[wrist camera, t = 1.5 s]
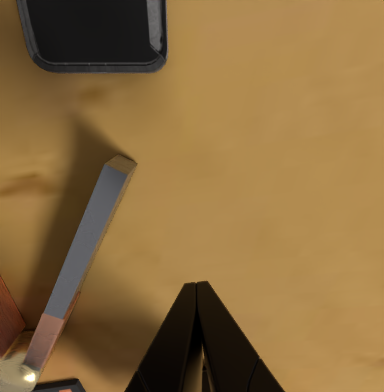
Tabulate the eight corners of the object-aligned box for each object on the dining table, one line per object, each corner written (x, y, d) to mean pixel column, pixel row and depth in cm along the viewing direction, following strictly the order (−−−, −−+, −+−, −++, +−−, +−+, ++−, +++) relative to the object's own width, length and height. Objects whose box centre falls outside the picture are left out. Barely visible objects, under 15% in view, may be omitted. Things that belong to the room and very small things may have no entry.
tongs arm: (48, 361, 23) (28, 400, 20) (11, 350, 22) (-16, 388, 19) (140, 165, 16) (129, 178, 13) (89, 139, 15) (65, 148, 12)
